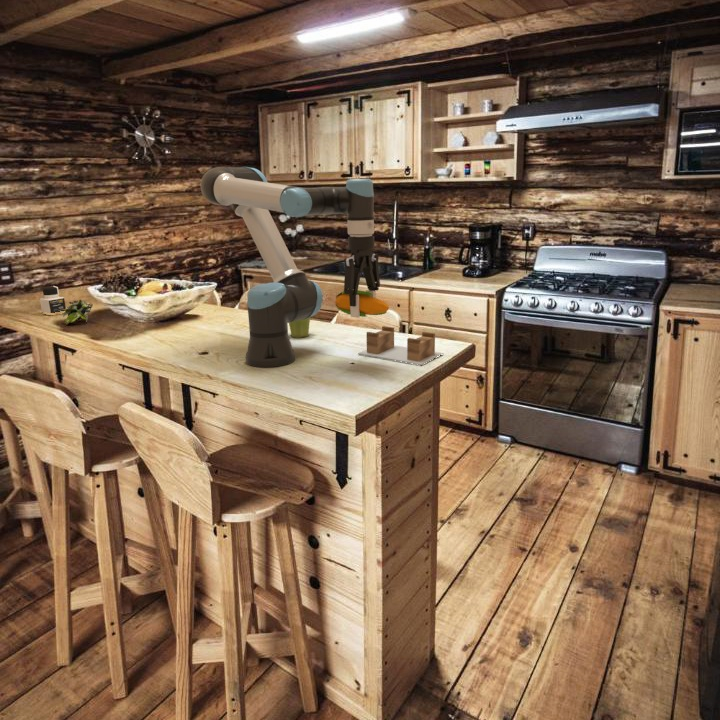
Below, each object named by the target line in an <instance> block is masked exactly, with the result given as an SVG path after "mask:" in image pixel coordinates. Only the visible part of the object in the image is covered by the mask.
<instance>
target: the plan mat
mask: <svg viewBox="0 0 720 720" xmlns="http://www.w3.org/2000/svg"><path fill="white" fill-rule="evenodd" d="M358 354H359V355H358ZM441 354H443V355H444V352H438V351H435V354H433V355H431V356H429V357H427V358H425V359H423V360H421V361H413V360H407V346H401V345H395V344H394V348H391V349H389V350H386V351H384V352H382V353H379V354H372V353H367V349H365V350H362V351H359V352H358V353H357V355H358V356H361V355H365V356H364V357H367V356H371V357H370V358H373V357H377V358H376V359H378V358H383V359H382V360H384V359H389V360H388V361H390V360H396V361H402V362H407V363H413V364H418V365H422V366H424V365H425V364H424V363H426V362H428V361H430V360H432V359H434V358H436V357H437V356H439V355H441ZM436 359H437V358H436ZM434 360H435V359H434ZM432 361H433V360H432ZM430 362H431V361H430ZM407 363H406V364H407ZM428 363H429V362H428ZM423 364H424V365H423ZM426 364H427V363H426ZM418 365H417V366H418Z"/></svg>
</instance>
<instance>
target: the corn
mask: <svg viewBox="0 0 720 720" xmlns="http://www.w3.org/2000/svg"><path fill="white" fill-rule="evenodd" d="M353 291H354V289H353ZM357 295H359V312H360V317H362V318H364V317H365V318H366V317H367V316H368V315H369V316H378V315H379V316H381V315H385V314H387V311H389V309H390V306H389V304H388V303H386V301H383V300H381V299H378V298H376V297H375V298H373V297H371V296H369V295H372V293H369V292H366V290H365V291H364V290H359V289H358V291H357ZM335 297H336V298H335V300H334V304H335V307H336V308H337V309H338V310H339V311H340V312H343V313H344V314H347V315H350V316H351V311H350V300H349V295H348V294H346V293H344V290H343V291H341V292H340V293H338V294H336V296H335Z"/></svg>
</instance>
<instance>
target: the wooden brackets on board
mask: <svg viewBox="0 0 720 720" xmlns="http://www.w3.org/2000/svg"><path fill="white" fill-rule="evenodd" d="M381 327H382V328H381V330H379V331H377V332H371V331H367V332H366V350H367V353H372V354H379V353H382V352H384V351H386V350H389V349H391V348H394V345H395V327H394V326H393V327H392V326H385V325H383V326H381ZM406 341H407V346H406V347H407V360H413V361H421V360H423V359H425V358H427V357H429V356H431V355H433V354H435V352H436V351H435V350H436V342H435V341H436V333H435V332H428V331H422V332H421V336H418V337H417V338H413V337H408V338H407V339H406Z"/></svg>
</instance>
